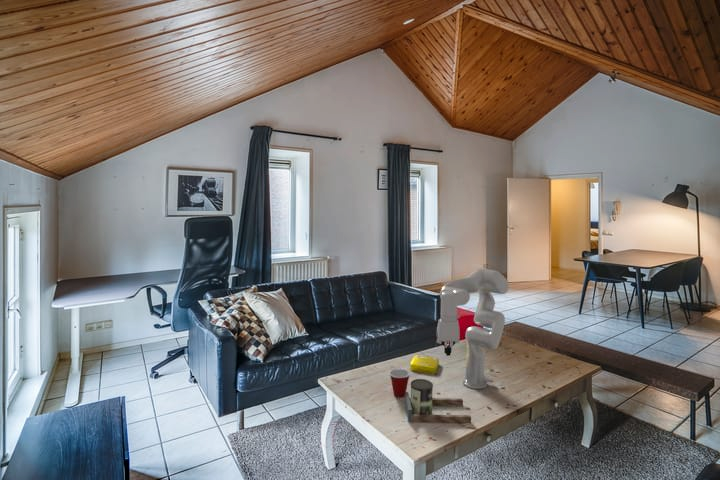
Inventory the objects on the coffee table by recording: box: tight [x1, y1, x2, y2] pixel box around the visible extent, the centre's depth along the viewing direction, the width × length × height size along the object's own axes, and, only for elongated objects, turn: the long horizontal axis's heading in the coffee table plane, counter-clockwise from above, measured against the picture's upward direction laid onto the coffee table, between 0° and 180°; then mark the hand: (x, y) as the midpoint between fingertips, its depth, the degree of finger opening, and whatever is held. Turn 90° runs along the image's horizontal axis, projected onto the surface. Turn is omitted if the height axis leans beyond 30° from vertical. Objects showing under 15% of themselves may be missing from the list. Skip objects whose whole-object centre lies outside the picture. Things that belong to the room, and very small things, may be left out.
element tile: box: [409, 354, 440, 375], centre depth 229 cm, size 15×15×5 cm
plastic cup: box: [388, 368, 411, 398], centre depth 196 cm, size 11×11×12 cm
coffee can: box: [410, 378, 434, 415], centre depth 180 cm, size 10×10×14 cm
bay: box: [404, 391, 472, 424], centre depth 180 cm, size 28×16×6 cm, turn 89°
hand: (447, 354), depth 184 cm, fingers closed
